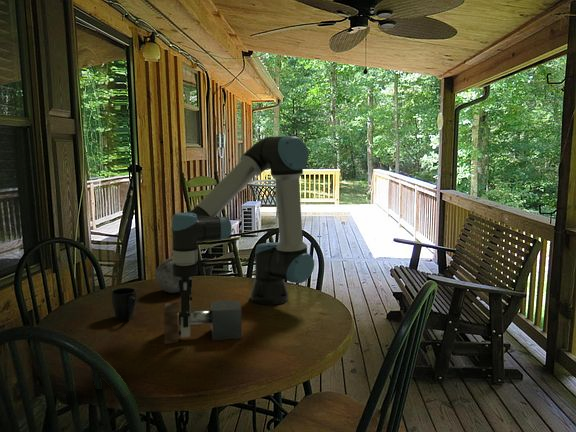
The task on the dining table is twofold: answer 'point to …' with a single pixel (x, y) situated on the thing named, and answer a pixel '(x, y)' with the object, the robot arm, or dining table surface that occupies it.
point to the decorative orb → (167, 277)
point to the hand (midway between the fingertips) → (186, 328)
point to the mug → (123, 302)
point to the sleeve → (226, 320)
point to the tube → (198, 317)
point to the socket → (171, 323)
